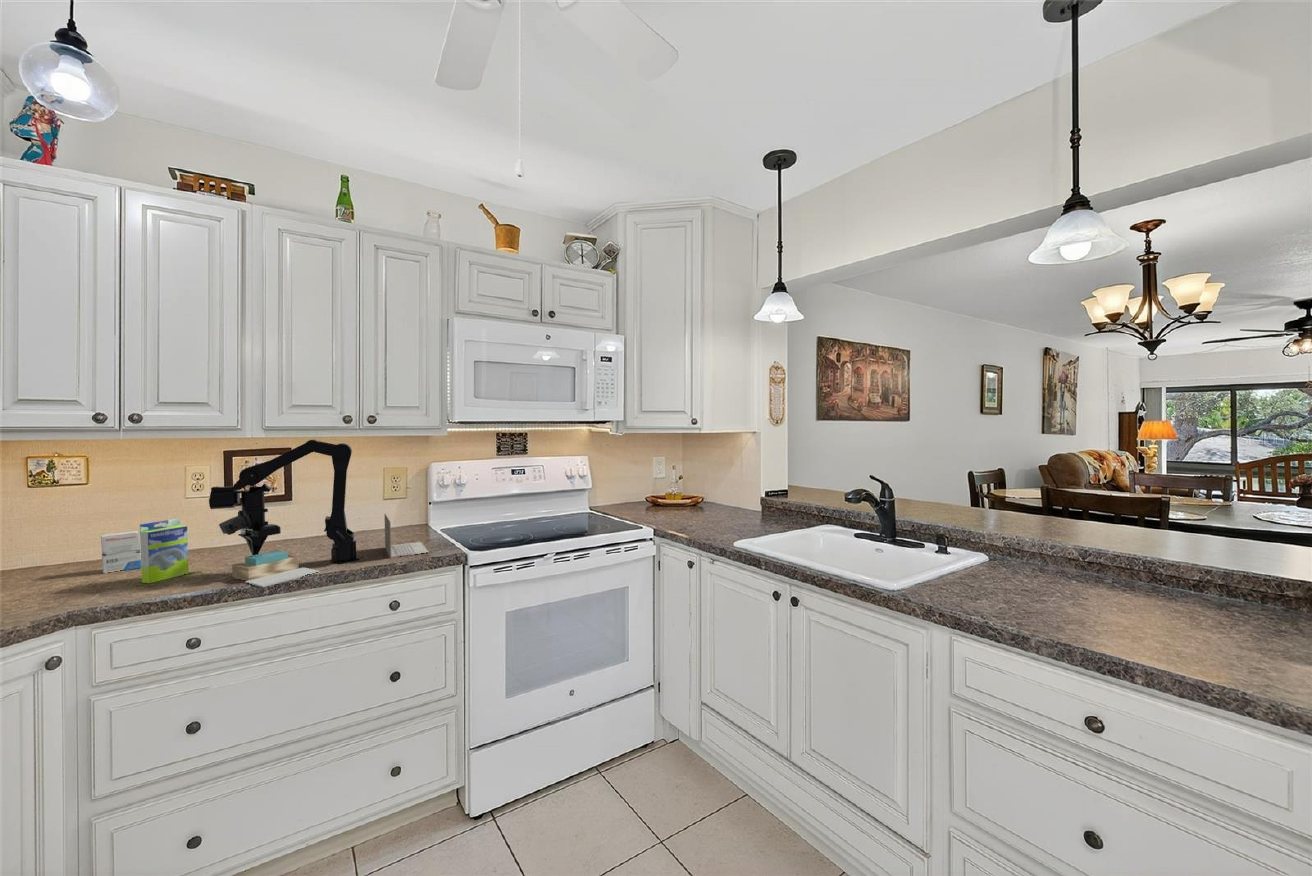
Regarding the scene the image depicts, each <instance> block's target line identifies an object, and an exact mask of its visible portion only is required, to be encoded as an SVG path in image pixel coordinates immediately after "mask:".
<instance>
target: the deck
mask: <svg viewBox="0 0 1312 876" xmlns="http://www.w3.org/2000/svg"><path fill="white" fill-rule="evenodd" d="M299 561H300V559H299V556H296V555H290V554H288V559H284V560H280V561H276V562H271V563H267V564H262V565H258V566H254V565H250V564H245V561H243V562H238V563H234V564H231V567H232V568H231V571H232V572H231V573H232V574H231V575H232V579H236V580H239V579H241V580H240V581H243V580H246V581H249V580H253V579H257V578H261V577H265V576H269V575H273V574H277V573H281V572H285V571H290V570H294V569H298V568H300V563H299Z"/></svg>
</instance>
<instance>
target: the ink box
mask: <svg viewBox="0 0 1312 876" xmlns="http://www.w3.org/2000/svg"><path fill="white" fill-rule="evenodd" d="M139 532H140V531H139V530H134V531H124V532H116V533H107V534H101V536H100V542H101V543H100V545H101V560H102V561H101V562H102V574H103V573H106V574H109V573H108V572H112V573H115V572H114V571H118V572H121V571H120V570H125V571H130V570H136V569H137V568H138V569H142V566H141V543H140V533H139ZM138 569H137V570H138Z"/></svg>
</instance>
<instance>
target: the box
mask: <svg viewBox="0 0 1312 876" xmlns="http://www.w3.org/2000/svg"><path fill="white" fill-rule="evenodd" d="M160 523H161V524H165V525H160V526H155V525H159V524H160ZM139 530H140V531H139V538H140V553H141V583H144V584H152V583H157V582H161V581H166V580H170V579H172V578H176V577H182V576H185V575H184V574H186V575H189V571H190V570H189V568H190V567H189V548H188V547H189V545H188V544H189V541H188V538H189V537H188V534H189V533H188V525H187V524H186V525H185V524H180V518H179V517H178V518H173V519H172V518H171V519H166V520H165V519H164V520H160V521H153V522H147V523H141V524H140V523H139Z"/></svg>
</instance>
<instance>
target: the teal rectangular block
mask: <svg viewBox="0 0 1312 876" xmlns="http://www.w3.org/2000/svg"><path fill="white" fill-rule="evenodd" d="M288 555H289V552H288V551H284V550H277V549H276V550H272V551H266V552H263V553H258V554H257V555H252V554H251V555H247V556H244V562H245V564H250V565H254V566H258V565H262V564H267V563H271V562H276V561H280V560H284V559H288Z"/></svg>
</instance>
